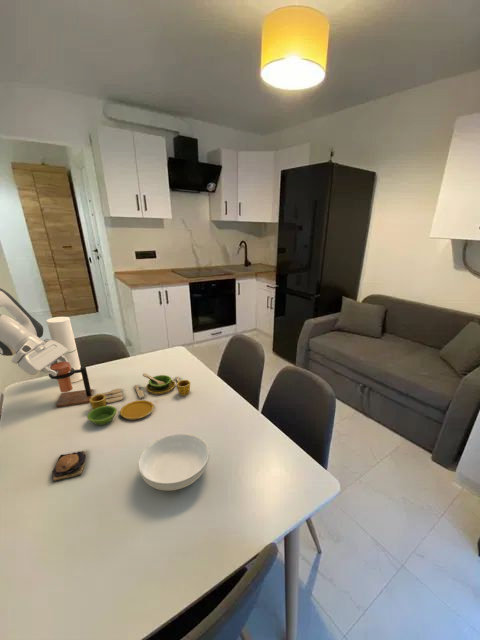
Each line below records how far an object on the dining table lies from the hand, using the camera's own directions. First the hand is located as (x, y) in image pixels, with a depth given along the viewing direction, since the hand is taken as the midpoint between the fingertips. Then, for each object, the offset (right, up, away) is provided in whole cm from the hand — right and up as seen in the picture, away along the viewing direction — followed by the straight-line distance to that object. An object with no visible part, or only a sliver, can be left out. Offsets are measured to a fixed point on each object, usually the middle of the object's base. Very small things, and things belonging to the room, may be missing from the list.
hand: (62, 369), depth 119 cm
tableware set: (+30, -14, +8) cm, 34 cm away
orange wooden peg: (-1, -9, +4) cm, 9 cm away
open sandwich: (+21, -29, -27) cm, 45 cm away
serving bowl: (+55, -31, -27) cm, 69 cm away
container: (-10, -6, +22) cm, 25 cm away
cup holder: (+1, -13, +6) cm, 15 cm away
